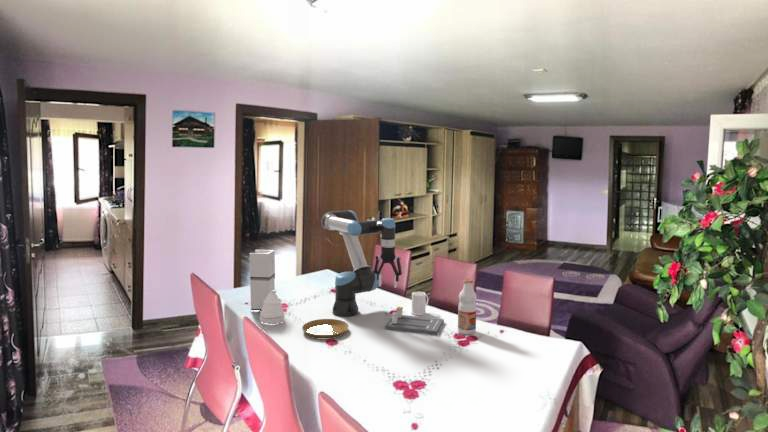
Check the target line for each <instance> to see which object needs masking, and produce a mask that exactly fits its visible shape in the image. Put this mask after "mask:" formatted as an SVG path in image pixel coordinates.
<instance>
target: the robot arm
mask: <svg viewBox="0 0 768 432" xmlns="http://www.w3.org/2000/svg"><path fill="white" fill-rule="evenodd" d="M320 223H321V226H322V228H323V229H324V230H326V231H327V230H328V231H338V233H339V235H341V236H342V239H343V241H344V244H345V247H346V251H347V252H348V257H349V259H350V262H351V266H352V267H353V271H351V270H350V271H349V270H348V271H343V272H340V273H337V275H336V276H335V279H334V280H335V282H334V284H335V285H334V286H335V287H334V288H335V289H334V290H335V291H334V293H335V294H334V295H335V300H334V303H333V306H332V314H333V315H335V316H338V317H352V316H357V315H358V314H359V307H358V304H357V300H356V294H361V293H370V292H372V291H375V290H376V289H377V288H378V287H381V286H382V273H381V272H382V270H383V268H384V267H385V264H390V265H391V268H392V269H393V272H394V279H393V281H394V282H393V283H394V286H393V287H394V289H395V288H397V286H398V282H399V281H400V279H399V278H400V277H399V276H402V274H403V271H402V265H401V257H400V256H396V247H395V246H396V220H395V218H392V217H391V218H390V217H385V218H384V217H383V218H381V219H378V218H376V219H375V218H373V219H370V220H362V221H359V218H358V214H357V213H356V212H355V211H353V210H349V209H345V210H335V211H334V210H333V211H328V212H325V213H324V214H323V215H322V217H321V221H320ZM374 234H375V235H376V234H379V235H381V237H380V238H381V239H380V240H381V241H380V242H381V248H380V252H381V253H380V255H378V254H377V255H376V256H375V263H374V270H373V269H372V266H370V265H369V264H368V263H367V260H366V256H365V253H364V251H363V248H362V246H361V245H362V244H361V242H360V240H359V237H358V236H363V235H374ZM380 260H382V261H381V263H380ZM395 261H396V264H395ZM379 263H380V266H379Z"/></svg>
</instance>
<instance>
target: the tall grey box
mask: <svg viewBox="0 0 768 432" xmlns="http://www.w3.org/2000/svg"><path fill="white" fill-rule="evenodd" d="M275 252H276V251H275V250H274V249H255V250H254V252H249V279H250V280H249V282H250V283H249V285H250V286H249V287H250V290H249V291H250V311H251V310H260V311H262V306H263V304H264V302H263V301H264V300H265V299H266V297H267V295H268V294H269V293H270V292H272V290H276V289H275V288H276V287H275V279H276V263H275V262H276V259H275V257H276V256H275Z"/></svg>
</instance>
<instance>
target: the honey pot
mask: <svg viewBox="0 0 768 432" xmlns="http://www.w3.org/2000/svg"><path fill="white" fill-rule="evenodd" d="M276 293H277V289H275V290H272V292H270V293H269V294H268V295H267V297H266V299H265V300H264V301H263V302H264V304H263V306H262V311H261V313H260V323H261V322H263V323H268V324H277V323H281V322H283V321H284V322H285V311H284V308H283V304H282V302H283V301H282V299H281V298H279V296H278V294H276ZM284 322H283V323H284ZM281 324H282V323H281ZM277 325H278V324H277Z"/></svg>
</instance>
